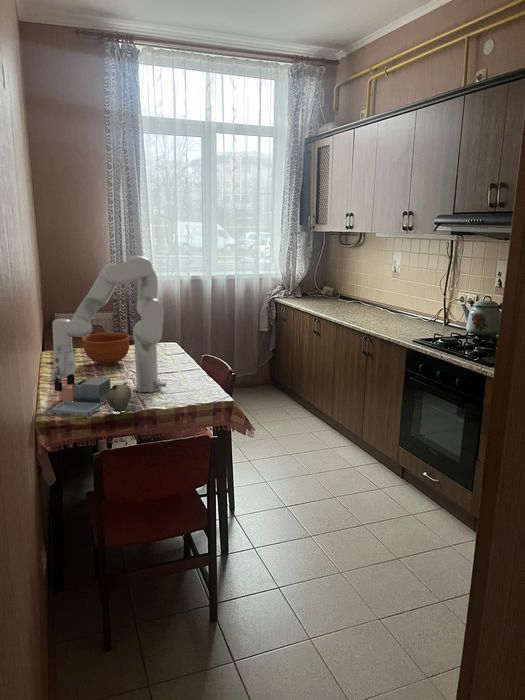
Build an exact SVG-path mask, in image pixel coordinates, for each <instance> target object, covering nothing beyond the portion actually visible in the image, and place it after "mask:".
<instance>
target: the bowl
mask: <svg viewBox="0 0 525 700" xmlns="http://www.w3.org/2000/svg"><path fill="white" fill-rule="evenodd" d="M130 339H131V335H130V334H128V333H125V332H124V333H123V332H99V333H93V334H92V333H90V334H89V335H88V336H86V337H81V341H82V342H83V345H84V348H83V350H84V353H85V355H86V356H87V358H88V359H90V360H91V361H92V362H95V363H97V364H100V366H103V367H107V366H108V367H109V366H115V365H116V363H118V362H120V361H121V360H122V361H123V359H125V358H126V357H127V355H128V353H129V350H130Z"/></svg>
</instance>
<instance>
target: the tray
mask: <svg viewBox="0 0 525 700" xmlns="http://www.w3.org/2000/svg"><path fill="white" fill-rule="evenodd" d="M100 407H101V408H102V405H101V404H99V403H85V402H72V401H62V402H61V403H59V404H57V405H56V406H54V407H52V408H51V409H50V411H51V412H50V413H56V414H55V415H61V414H71V415H70V416H74V415H75V414H76V415H85V416H84V417H87V416H89V417H91V416H92V415H93V414H92V413H94V412H95V411H96V410H97V409H99V408H100ZM95 413H96V412H95ZM95 413H94V414H95ZM91 414H92V415H91ZM90 415H91V416H90Z"/></svg>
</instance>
